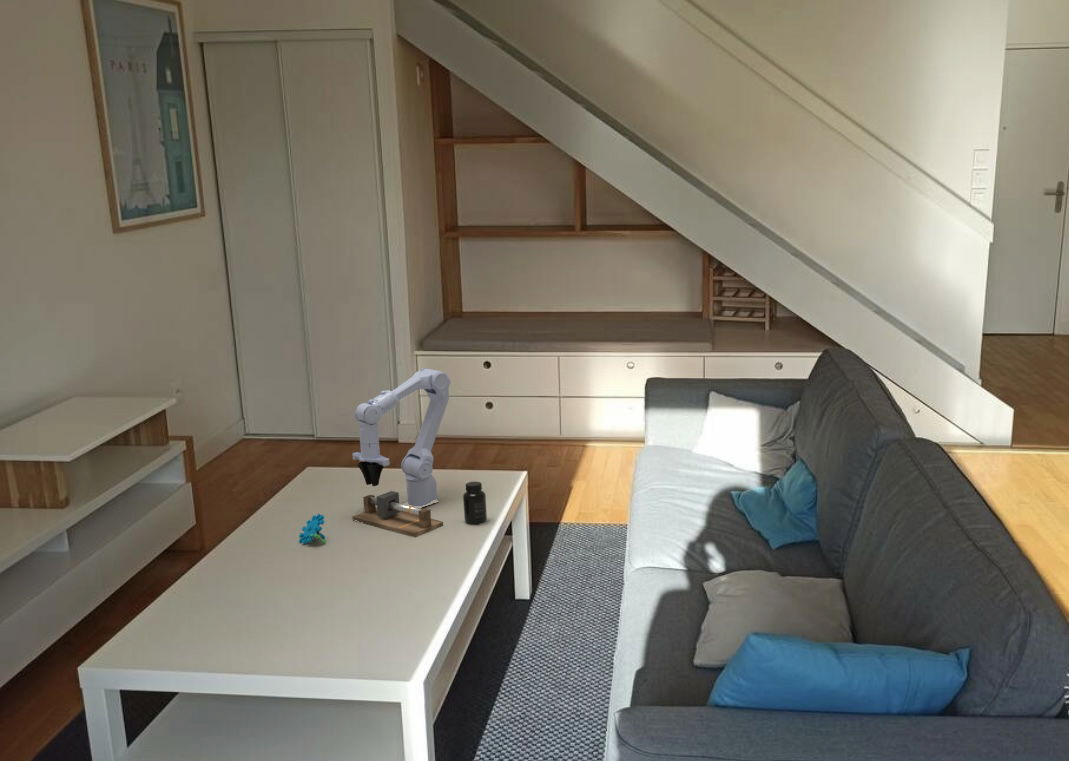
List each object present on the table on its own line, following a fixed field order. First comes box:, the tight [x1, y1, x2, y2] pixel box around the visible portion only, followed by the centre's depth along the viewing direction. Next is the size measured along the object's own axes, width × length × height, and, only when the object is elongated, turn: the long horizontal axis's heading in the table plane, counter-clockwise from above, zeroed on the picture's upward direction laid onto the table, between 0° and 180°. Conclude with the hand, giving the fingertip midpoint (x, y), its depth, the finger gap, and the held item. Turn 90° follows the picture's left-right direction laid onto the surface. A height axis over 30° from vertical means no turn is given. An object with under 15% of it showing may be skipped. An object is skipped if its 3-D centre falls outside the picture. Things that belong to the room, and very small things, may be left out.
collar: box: [376, 490, 400, 518], centre depth 307 cm, size 6×3×6 cm, turn 142°
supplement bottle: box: [462, 481, 488, 526], centre depth 303 cm, size 7×7×12 cm
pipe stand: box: [351, 494, 444, 538], centre depth 305 cm, size 12×27×6 cm, turn 52°
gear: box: [298, 513, 327, 545], centre depth 293 cm, size 11×6×10 cm
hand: (372, 484), depth 310 cm, fingers open, 2 cm apart
